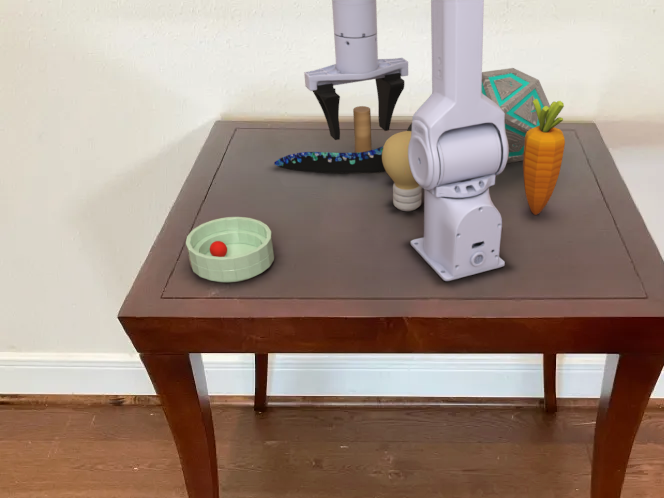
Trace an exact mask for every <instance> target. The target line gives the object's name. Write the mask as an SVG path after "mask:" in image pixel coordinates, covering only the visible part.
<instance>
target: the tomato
mask: <svg viewBox="0 0 664 498" xmlns="http://www.w3.org/2000/svg"><path fill="white" fill-rule="evenodd" d="M210 253H211V255H212V256H216V257H224V256H225V255H226V254H227V246H226V245H225V244H224V243H223V242H221V241H215V242H213V243H212V244H211V246H210Z"/></svg>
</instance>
